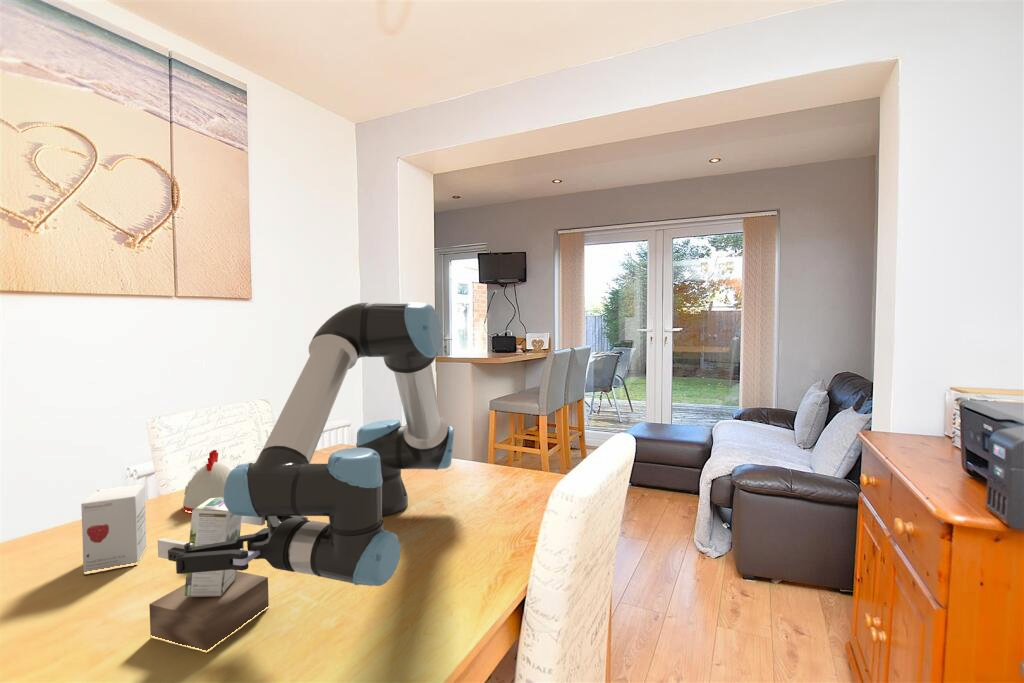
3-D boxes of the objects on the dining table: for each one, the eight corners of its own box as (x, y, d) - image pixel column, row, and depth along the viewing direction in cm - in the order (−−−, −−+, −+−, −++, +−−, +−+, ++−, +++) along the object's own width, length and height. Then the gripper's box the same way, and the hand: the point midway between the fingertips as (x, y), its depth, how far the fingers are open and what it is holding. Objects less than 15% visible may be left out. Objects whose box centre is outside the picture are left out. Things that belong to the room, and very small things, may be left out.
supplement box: (81, 577, 94) (78, 503, 94) (96, 557, 102) (93, 489, 102) (138, 566, 98) (135, 495, 98) (148, 547, 106) (145, 482, 106)
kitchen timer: (247, 493, 140) (245, 443, 140) (235, 510, 127) (234, 456, 127) (193, 498, 136) (191, 447, 135) (175, 517, 123) (173, 461, 122)
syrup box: (201, 579, 82) (207, 496, 82) (237, 579, 83) (243, 497, 83) (183, 597, 76) (190, 508, 76) (222, 597, 77) (228, 509, 77)
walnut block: (150, 640, 76) (149, 604, 76) (217, 598, 87) (216, 566, 87) (207, 655, 72) (205, 618, 72) (268, 610, 84) (267, 577, 84)
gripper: (236, 617, 62) (121, 590, 68) (353, 534, 86) (260, 520, 92) (235, 561, 61) (119, 540, 68) (352, 494, 85) (259, 483, 91)
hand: (200, 528), depth 80 cm, fingers open, 13 cm apart
